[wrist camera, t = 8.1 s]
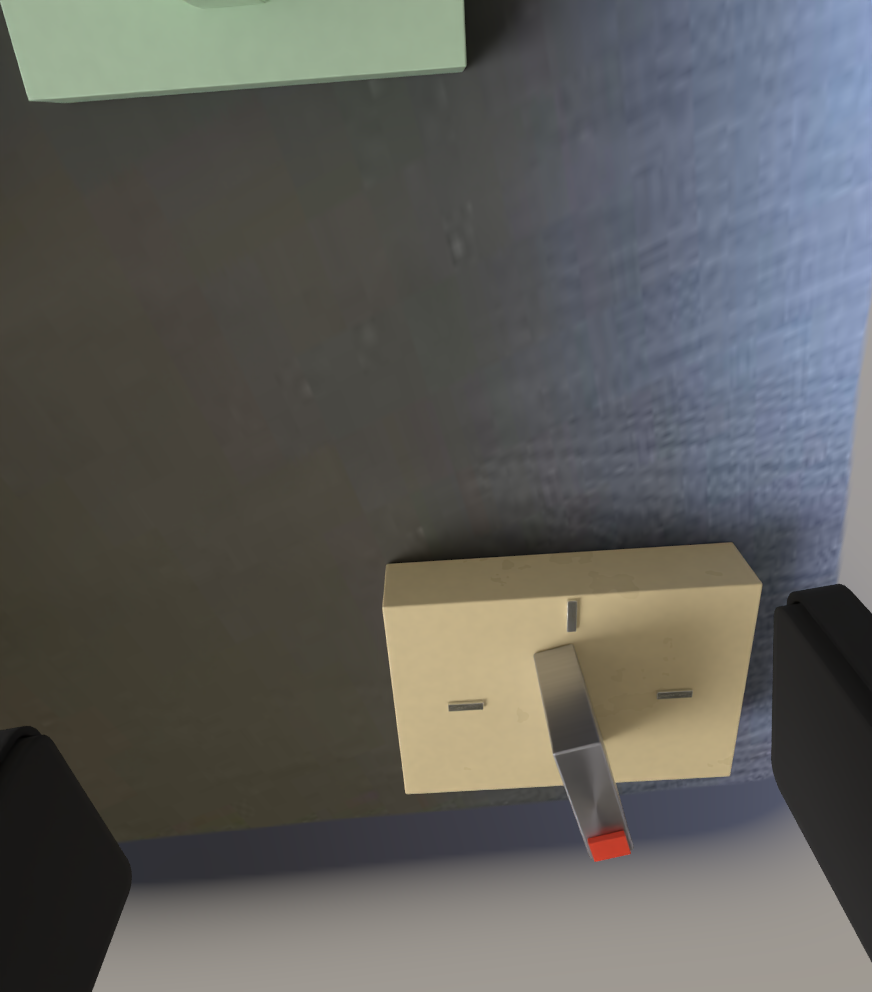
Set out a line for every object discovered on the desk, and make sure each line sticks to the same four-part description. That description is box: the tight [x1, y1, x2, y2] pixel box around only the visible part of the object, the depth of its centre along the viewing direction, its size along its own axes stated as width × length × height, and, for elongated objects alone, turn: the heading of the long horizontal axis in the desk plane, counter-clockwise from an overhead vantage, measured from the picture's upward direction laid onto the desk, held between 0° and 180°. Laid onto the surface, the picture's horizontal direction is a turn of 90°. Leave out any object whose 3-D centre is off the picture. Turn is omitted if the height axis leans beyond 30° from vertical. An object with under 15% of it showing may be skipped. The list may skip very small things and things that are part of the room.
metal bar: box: [533, 644, 634, 862], centre depth 26 cm, size 6×2×5 cm, turn 18°
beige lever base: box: [382, 542, 762, 794], centre depth 30 cm, size 14×10×3 cm
